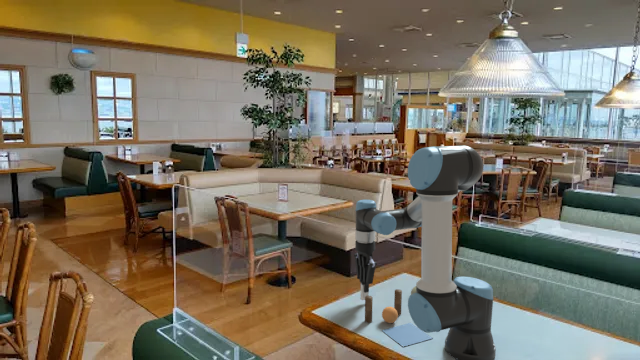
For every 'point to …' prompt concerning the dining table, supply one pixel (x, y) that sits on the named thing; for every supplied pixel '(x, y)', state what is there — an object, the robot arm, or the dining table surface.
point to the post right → (398, 301)
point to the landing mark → (407, 334)
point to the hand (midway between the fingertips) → (364, 298)
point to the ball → (390, 314)
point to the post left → (368, 309)
